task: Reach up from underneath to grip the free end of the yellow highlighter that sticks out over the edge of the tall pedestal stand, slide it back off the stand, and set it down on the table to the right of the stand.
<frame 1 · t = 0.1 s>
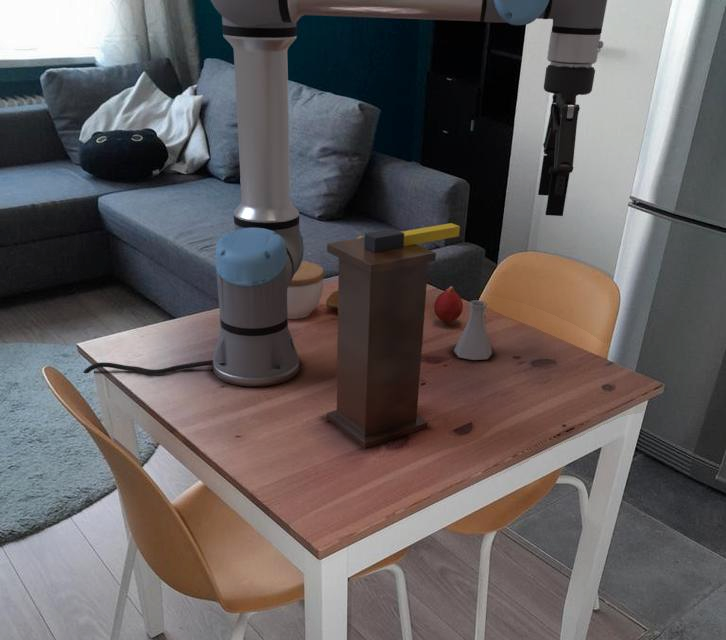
hand: (549, 204, 136), 28 cm above the table, tool pointing down, fingers open, 13 cm apart
pedestal stand: (376, 423, 127), on the table
flask: (472, 354, 152), on the table
pomegranate: (446, 325, 164), on the table
stone cup: (367, 309, 170), on the table
lidded bowl: (293, 313, 166), on the table
highlighter: (414, 241, 115), point 28 cm above the table, touching pedestal stand
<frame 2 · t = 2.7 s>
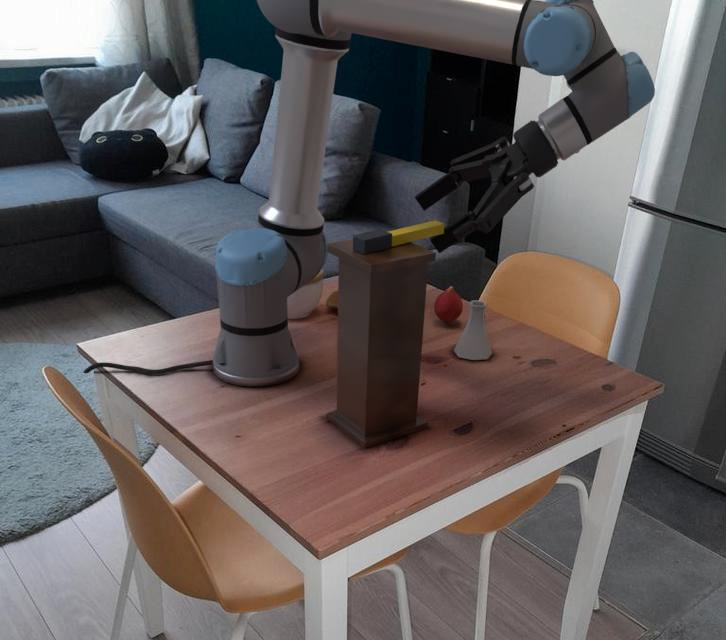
hand: (426, 224, 124), 28 cm above the table, tool tilted 55°, fingers open, 13 cm apart
highlighter: (401, 241, 114), point 28 cm above the table, touching gripper
everything else where it was.
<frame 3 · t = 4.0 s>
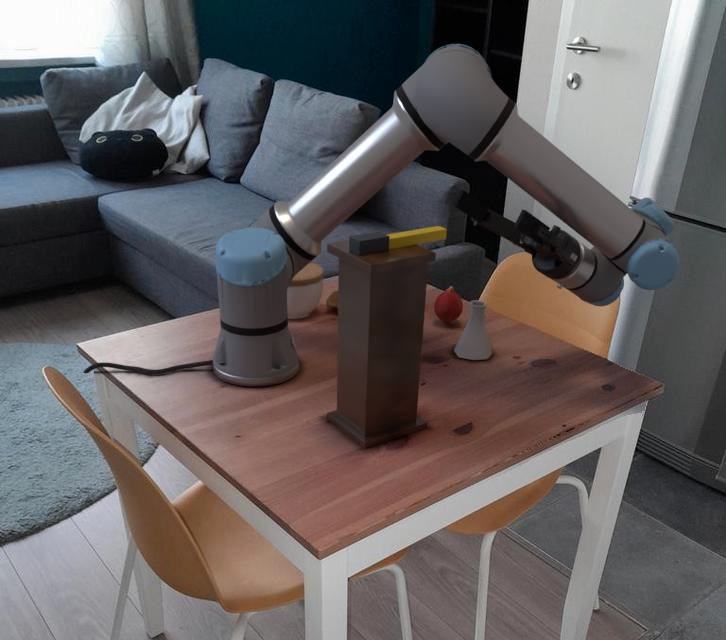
hand: (487, 207, 120), 31 cm above the table, tool pointing upward, fingers open, 13 cm apart
highlighter: (400, 245, 113), point 28 cm above the table, touching pedestal stand
everything else where it was.
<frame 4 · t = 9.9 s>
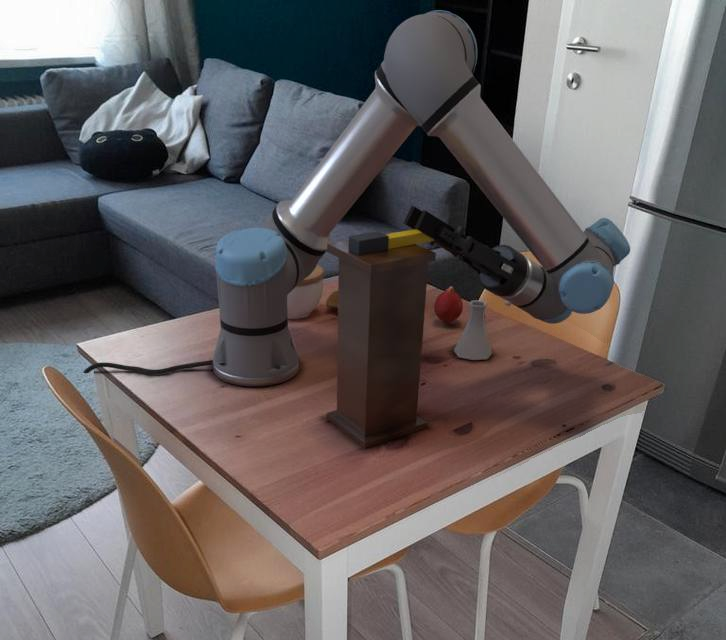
hand: (414, 217, 113), 32 cm above the table, tool pointing upward, fingers closed on highlighter, 2 cm apart
highlighter: (400, 244, 113), point 28 cm above the table, touching gripper, pedestal stand
everything else where it was.
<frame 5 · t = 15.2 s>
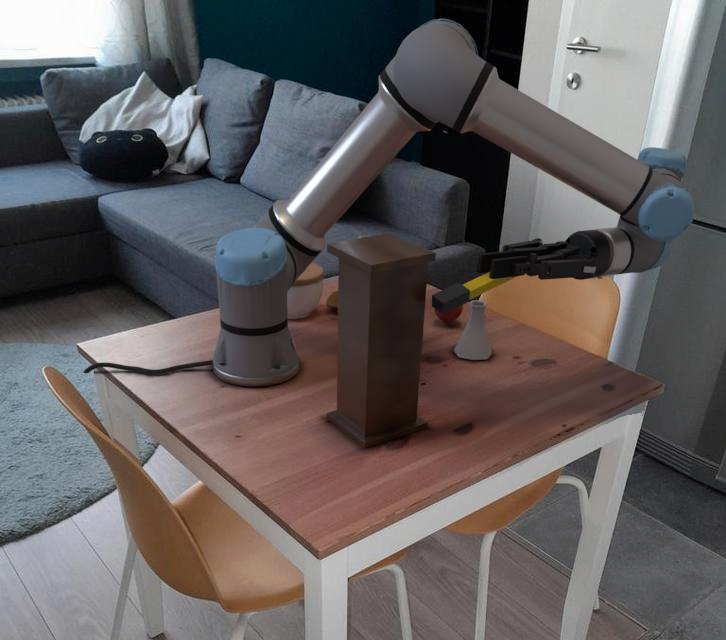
hand: (485, 266, 116), 25 cm above the table, tool horizontal, fingers closed on highlighter, 2 cm apart
highlighter: (479, 289, 118), point 22 cm above the table, tilted 16°, touching gripper
everything else where it was.
when the fingers open (6 cm above the table, at t = 20.8 s): highlighter drops 2 cm, on the table.
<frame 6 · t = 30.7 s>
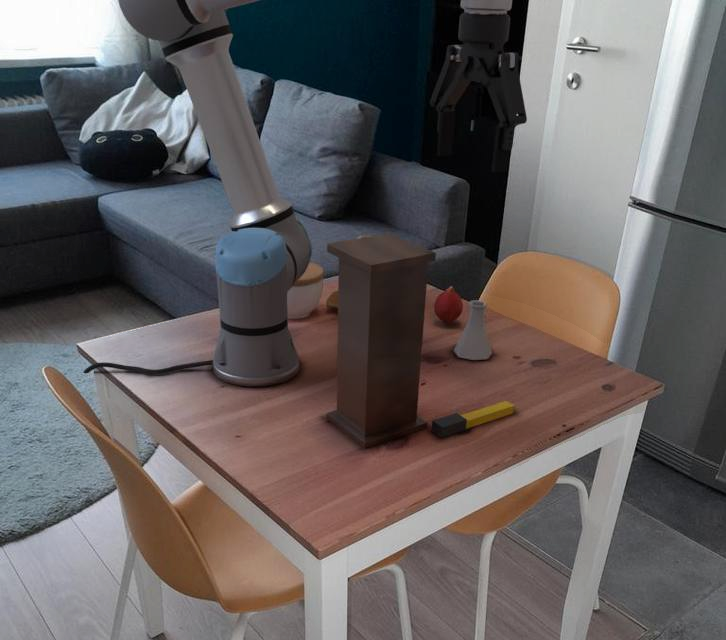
hand: (470, 163, 130), 35 cm above the table, tool pointing down, fingers open, 13 cm apart
highlighter: (474, 422, 129), on the table
everything else where it was.
at the end: highlighter inside the target area (1.4 cm from its centre), on the table; the gripper is holding nothing; highlighter touching table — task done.
